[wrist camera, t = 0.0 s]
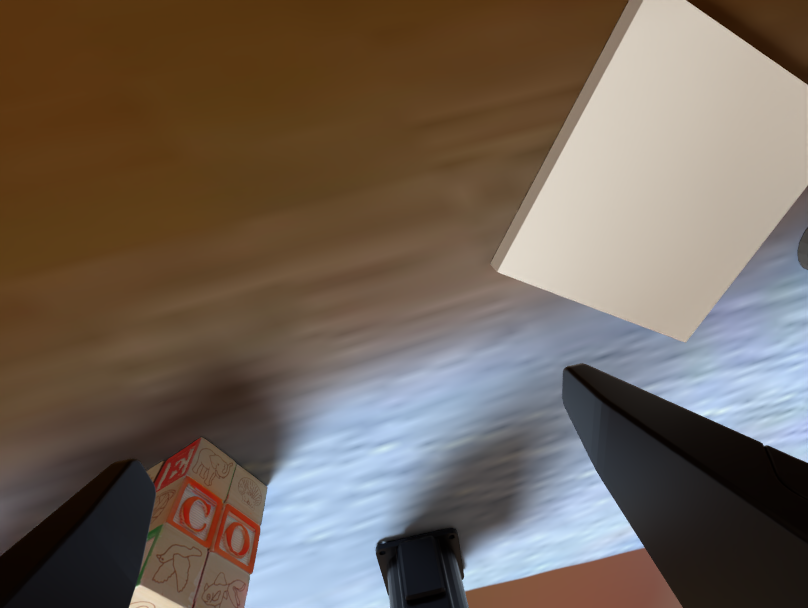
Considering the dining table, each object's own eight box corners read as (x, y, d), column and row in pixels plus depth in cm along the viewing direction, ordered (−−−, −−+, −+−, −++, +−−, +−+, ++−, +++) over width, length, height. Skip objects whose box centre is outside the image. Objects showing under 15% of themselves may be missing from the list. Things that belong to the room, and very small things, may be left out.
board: (672, 333, 28) (685, 342, 27) (490, 263, 24) (497, 271, 23) (834, 118, 23) (858, 120, 22) (637, -15, 19) (654, -22, 18)
